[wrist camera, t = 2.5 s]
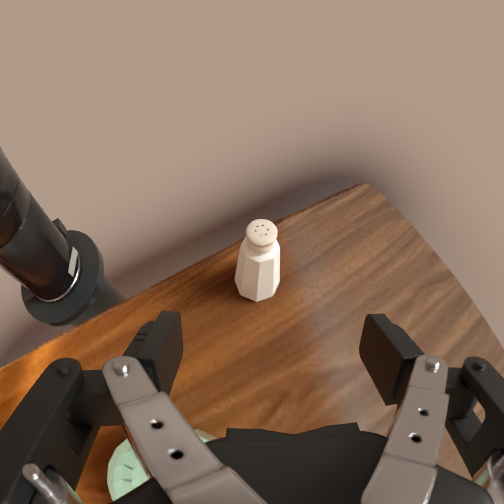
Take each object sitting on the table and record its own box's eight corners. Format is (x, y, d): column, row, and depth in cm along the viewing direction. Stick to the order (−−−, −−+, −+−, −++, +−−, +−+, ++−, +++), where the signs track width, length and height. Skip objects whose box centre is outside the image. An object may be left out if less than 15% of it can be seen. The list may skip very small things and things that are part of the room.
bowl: (105, 447, 24) (85, 451, 20) (206, 406, 28) (199, 406, 24) (164, 540, 19) (153, 557, 14) (270, 502, 22) (274, 517, 18)
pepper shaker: (225, 279, 36) (218, 228, 26) (257, 253, 37) (262, 197, 28) (255, 311, 34) (260, 269, 24) (288, 282, 36) (304, 232, 26)
